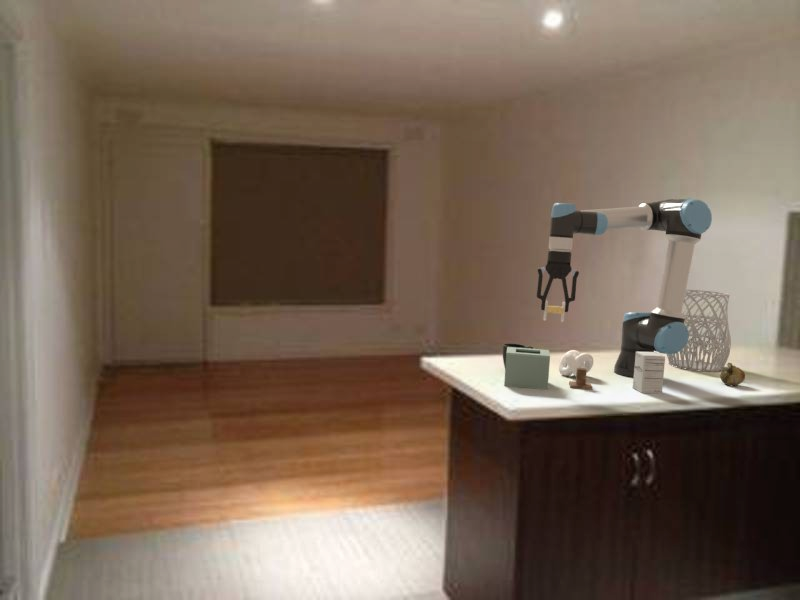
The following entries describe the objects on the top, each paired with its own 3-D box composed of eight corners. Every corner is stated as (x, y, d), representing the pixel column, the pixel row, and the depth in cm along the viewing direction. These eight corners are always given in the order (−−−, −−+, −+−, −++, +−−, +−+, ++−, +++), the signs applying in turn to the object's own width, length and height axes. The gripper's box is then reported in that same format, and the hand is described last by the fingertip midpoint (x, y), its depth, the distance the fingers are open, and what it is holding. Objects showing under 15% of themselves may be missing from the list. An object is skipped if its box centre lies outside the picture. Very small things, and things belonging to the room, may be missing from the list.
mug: (537, 373, 270) (539, 346, 269) (509, 374, 266) (510, 347, 265) (525, 368, 278) (527, 343, 277) (497, 369, 273) (498, 343, 272)
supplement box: (631, 388, 252) (635, 351, 251) (653, 388, 253) (656, 351, 252) (640, 393, 245) (644, 355, 244) (662, 393, 246) (666, 355, 244)
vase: (710, 375, 283) (717, 296, 280) (651, 363, 301) (658, 289, 298) (739, 369, 299) (746, 294, 296) (682, 358, 317) (688, 288, 314)
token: (561, 312, 250) (562, 306, 250) (562, 314, 245) (563, 307, 245) (546, 311, 251) (547, 305, 250) (547, 312, 246) (547, 306, 245)
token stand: (590, 385, 254) (591, 367, 253) (592, 389, 247) (593, 371, 246) (569, 383, 255) (570, 366, 254) (570, 387, 248) (571, 369, 247)
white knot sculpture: (589, 381, 259) (591, 356, 258) (554, 377, 263) (556, 352, 262) (593, 376, 270) (595, 351, 269) (559, 372, 274) (561, 348, 273)
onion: (742, 388, 261) (744, 366, 260) (717, 385, 265) (719, 362, 264) (745, 385, 267) (747, 363, 266) (721, 381, 271) (723, 360, 270)
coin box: (546, 381, 255) (548, 350, 254) (547, 389, 244) (550, 355, 242) (505, 378, 258) (507, 346, 256) (504, 385, 246) (506, 352, 245)
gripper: (586, 252, 248) (580, 322, 250) (531, 248, 251) (525, 317, 253) (589, 252, 241) (582, 324, 243) (532, 248, 243) (526, 319, 246)
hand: (553, 320), depth 248 cm, fingers closed on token, 5 cm apart
